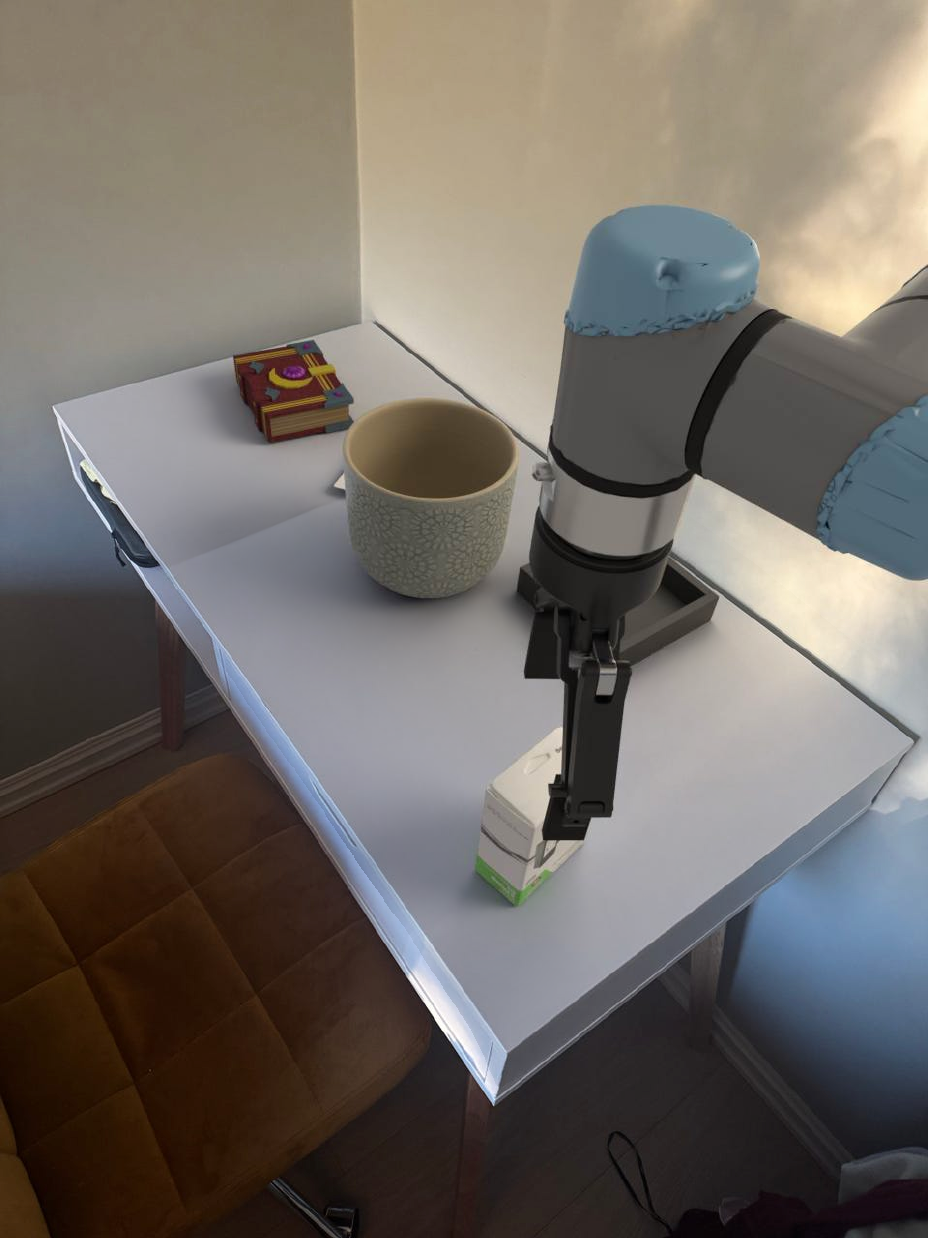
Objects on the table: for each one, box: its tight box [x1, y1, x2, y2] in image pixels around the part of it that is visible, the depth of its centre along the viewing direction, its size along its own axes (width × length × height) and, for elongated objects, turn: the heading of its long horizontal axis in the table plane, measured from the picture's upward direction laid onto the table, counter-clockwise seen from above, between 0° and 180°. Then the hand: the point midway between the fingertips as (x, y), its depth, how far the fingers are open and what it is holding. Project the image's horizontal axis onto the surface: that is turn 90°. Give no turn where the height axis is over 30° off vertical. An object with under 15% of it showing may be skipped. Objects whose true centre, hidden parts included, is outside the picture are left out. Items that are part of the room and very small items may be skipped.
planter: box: [342, 397, 520, 599], centre depth 92 cm, size 17×17×15 cm
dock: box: [516, 556, 720, 667], centre depth 94 cm, size 14×14×4 cm
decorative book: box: [232, 339, 355, 444], centre depth 115 cm, size 11×16×5 cm
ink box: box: [475, 726, 592, 907], centre depth 70 cm, size 9×5×12 cm, turn 135°
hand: (551, 749), depth 64 cm, fingers open, 13 cm apart
